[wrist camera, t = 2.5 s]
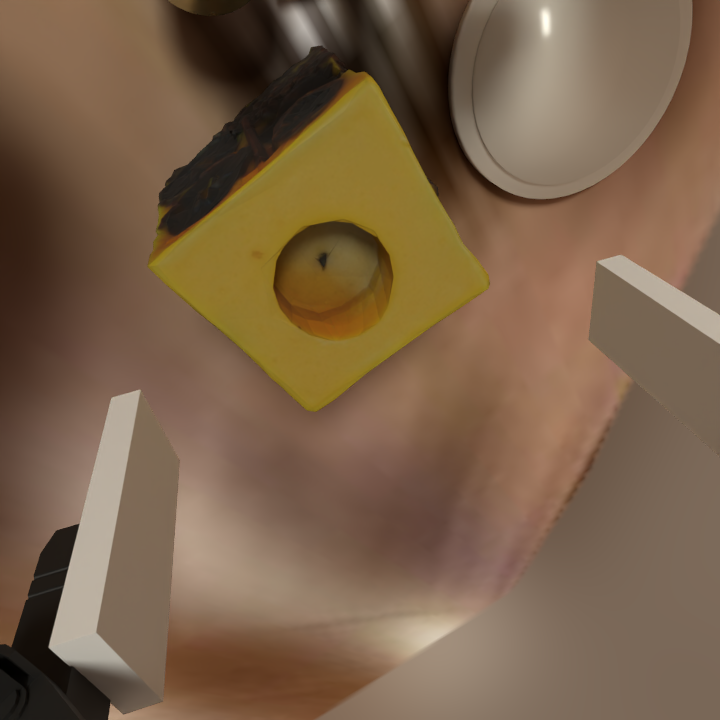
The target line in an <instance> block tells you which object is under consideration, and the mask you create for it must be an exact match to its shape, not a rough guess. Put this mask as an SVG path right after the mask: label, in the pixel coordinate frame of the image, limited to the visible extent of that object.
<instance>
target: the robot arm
mask: <svg viewBox="0 0 720 720" xmlns="http://www.w3.org/2000/svg"><path fill="white" fill-rule="evenodd" d="M589 341H590V342H591V343H593V344H594V345H595V346H596V347H597V348H598V349H599V350H600V351H602V352H603V353H604V354H605V355H606V356H607V357H608V358H609V359H611V360H612V361H613V362H614V363H615V364H616V365H617V366H618V367H620V368H621V369H622V370H623V371H624V372H625V373H626V374H627V375H628V376H630V377H631V378H632V379H633V380H634V381H635V382H636V383H637V384H639V385H640V386H641V387H642V388H643V389H644V390H646V392H648V393H649V394H650V395H651V396H652V397H653V398H655V400H657V401H658V402H659V403H660V404H661V405H662V406H663V407H664V408H666V409H667V410H668V411H669V412H670V413H671V414H672V415H673V416H674V417H676V418H677V419H678V420H679V421H680V422H681V423H682V424H683V425H685V426H686V427H687V428H688V429H689V430H690V431H691V432H692V433H694V434H695V435H696V436H697V437H698V438H699V439H700V440H701V441H703V442H704V443H705V444H706V445H707V446H708V447H709V448H710V449H712V450H713V451H714V452H715V453H716V454H717V455H718V456H719V457H720V315H719V314H717V313H715V312H714V311H712V310H711V309H709V308H707V307H706V306H704V305H702V304H701V303H699V302H697V301H696V300H694V299H692V298H691V297H689V296H688V295H686V294H684V293H683V292H681V291H680V290H678V289H676V288H675V287H673V286H671V285H670V284H668V283H667V282H665V281H663V280H662V279H660V278H658V277H657V276H655V275H653V274H652V273H650V272H649V271H647V270H645V269H644V268H642V267H640V266H639V265H637V264H636V263H634V262H632V261H631V260H629V259H627V258H626V257H624V256H622V255H618V256H615V257H611V258H607V259H604V260H600V261H597V262H596V272H595V282H594V291H593V301H592V311H591V321H590V330H589ZM179 464H180V460H179V458H178V456H177V454H176V453H175V451H174V449H173V447H172V445H171V444H170V442H169V440H168V438H167V436H166V435H165V433H164V431H163V429H162V427H161V426H160V424H159V422H158V420H157V418H156V417H155V415H154V413H153V411H152V409H151V408H150V406H149V404H148V402H147V400H146V399H145V397H144V395H143V393H142V391H141V390H137V391H134V392H130V393H127V394H123V395H119V396H116V397H112V398H111V402H110V406H109V410H108V414H107V418H106V422H105V426H104V430H103V434H102V438H101V442H100V446H99V450H98V454H97V457H96V461H95V465H94V469H93V473H92V477H91V481H90V485H89V489H88V493H87V497H86V501H85V505H84V509H83V513H82V517H81V521H80V524H77V525H73V526H70V527H67V528H63V529H60V530H57V531H56V532H55V533H54V535H53V536H52V538H51V539H50V541H49V542H48V544H47V545H46V546H45V548H44V549H43V551H42V552H41V554H40V557H39V560H38V564H37V567H36V570H35V573H34V581H32V583H31V586H30V589H29V593H28V600H26V602H25V606H24V609H23V612H22V615H21V619H20V622H19V625H18V628H17V631H16V635H15V638H14V641H13V644H12V648H11V647H9V646H8V645H6V644H4V645H0V720H108V716H109V709H110V703H111V704H112V705H114V706H115V707H116V708H117V709H118V710H119V711H120V712H121V713H123V714H127V713H130V712H133V711H136V710H139V709H142V708H145V707H148V706H151V705H154V704H157V703H160V702H163V696H164V681H165V667H166V652H167V638H168V623H169V609H170V594H171V580H172V565H173V551H174V536H175V522H176V507H177V493H178V478H179Z"/></svg>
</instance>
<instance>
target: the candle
mask: <svg viewBox="0 0 720 720" xmlns="http://www.w3.org/2000/svg"><path fill="white" fill-rule="evenodd" d="M165 186H166V187H165V188H164V189H163V190H162V191H161V192H160V193H159V201H160V203H159V204H158V211H159V219H158V225H157V228H156V233H157V234H158V236H157V237H156V239H155V240H154V242H153V251H152V253H151V254H150V257H149V262H148V266H147V267H148V268H149V269H150V270H152V271H153V272H154V273H155V274H156V275H157V276H158V277H159V278H160V279H161V280H162V281H163V282H164V283H165V284H166V285H167V286H168V287H169V288H171V289H172V290H173V291H174V292H175V293H176V294H177V295H179V296H180V297H181V298H182V299H183V300H184V301H185V302H186V303H188V304H189V305H190V306H191V307H192V308H193V309H194V310H195V311H197V312H198V313H199V314H200V315H202V316H203V317H204V318H205V319H207V320H208V321H209V322H210V323H212V324H213V325H214V326H215V327H217V328H218V329H219V330H220V331H221V332H223V333H224V334H225V335H226V336H227V337H228V338H229V339H231V340H232V341H233V342H234V343H235V344H236V345H237V346H239V347H240V348H241V349H242V350H243V351H244V352H245V353H246V354H247V355H248V356H249V357H250V358H252V359H253V360H254V361H255V362H256V363H257V364H258V365H259V366H260V367H261V368H262V369H263V370H264V371H265V372H266V373H267V374H268V375H269V377H270V378H272V379H273V380H274V381H275V382H276V383H277V384H279V385H280V386H281V387H282V388H283V389H284V390H285V391H286V392H287V393H288V394H290V395H291V396H292V397H293V398H294V399H295V400H296V401H297V402H298V403H299V404H300V405H302V406H303V407H304V408H305V409H306V410H307V411H314V412H317V411H318V410H320V409H321V408H323V407H324V406H326V405H327V404H329V403H330V402H332V401H333V400H335V399H336V398H337V397H338V396H340V395H341V394H342V393H343V392H345V391H346V390H347V389H348V388H349V387H351V386H352V385H353V384H354V383H356V382H357V381H358V380H359V379H360V378H362V377H363V376H364V375H365V374H366V373H368V372H369V371H371V370H372V369H373V368H375V367H376V366H378V365H379V364H380V363H382V362H383V361H384V360H386V359H387V358H389V357H390V356H391V355H393V354H394V353H396V352H397V351H398V350H400V349H401V348H403V347H404V346H405V345H407V344H408V343H409V342H411V341H412V340H414V339H415V338H416V337H418V336H419V335H421V334H422V333H423V332H425V331H426V330H428V329H429V328H430V327H432V326H433V325H435V324H436V323H438V322H439V321H441V320H443V319H444V318H446V317H447V316H449V315H450V314H452V313H453V312H455V311H456V310H458V309H459V308H461V307H462V306H464V305H465V304H467V303H468V302H470V301H471V300H472V299H474V298H475V297H477V296H478V295H480V294H481V293H483V292H484V291H485V290H487V289H488V288H489V285H490V282H489V275H488V274H487V272H486V271H485V269H484V268H483V267H482V265H481V264H480V263H479V261H478V260H477V259H476V258H475V257H474V255H473V254H472V253H471V252H470V251H469V250H468V249H467V248H466V247H465V245H464V244H463V243H462V241H461V239H460V236H459V234H458V232H457V230H456V228H455V226H454V224H453V222H452V221H451V219H450V217H449V216H448V214H447V213H446V211H445V209H444V208H443V206H442V204H441V203H440V201H439V199H438V187H437V186H435V185H434V184H433V183H432V182H431V181H430V180H429V179H428V178H427V177H426V176H425V174H424V172H423V170H422V168H421V166H420V164H419V162H418V160H417V158H416V157H415V155H414V152H413V150H412V148H411V146H410V144H409V141H408V139H407V137H406V135H405V133H404V131H403V129H402V128H401V126H400V124H399V122H398V121H397V119H396V117H395V115H394V114H393V112H392V110H391V108H390V106H389V104H388V102H387V101H386V99H385V97H384V95H383V93H382V91H381V89H380V87H379V86H378V85H377V83H376V82H375V81H374V79H373V78H372V77H371V76H370V75H368V74H367V73H366V72H359V73H355V72H353V71H351V70H347V69H346V68H345V63H343V62H340V60H339V58H338V57H337V56H336V55H335V54H334V53H331V52H328V50H327V49H325V48H323V46H316V47H311V50H310V52H309V55H308V56H307V57H306V58H304V59H303V60H302V61H300V62H298V63H297V64H295V65H293V66H292V67H291V68H289V69H288V70H287V71H286V72H285V73H284V74H283V76H282V77H280V78H278V79H276V80H274V81H273V82H272V83H271V84H270V85H269V86H268V87H267V88H266V90H265V91H264V92H263V93H262V94H260V95H259V96H258V97H257V98H256V99H254V100H253V101H252V102H250V103H249V104H248V105H247V106H245V107H244V108H243V109H242V110H241V111H240V112H239V114H238V115H237V117H236V118H235V119H234V121H233V122H228V123H226V124H225V125H224V127H223V129H222V131H220V132H219V133H217V134H216V135H214V136H213V140H212V141H211V142H210V143H209V144H208V145H207V146H206V147H205V148H204V149H202V150H201V151H200V152H199V153H198V154H197V156H196V157H195V158H194V159H193V160H192V161H191V162H190V163H189V164H188V165H186V166H183V167H181V168H178V169H176V170H174V172H173V174H172V176H171V177H170V178H169V179H168V180H167V181H166V183H165Z"/></svg>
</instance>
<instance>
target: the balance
mask: <svg viewBox="0 0 720 720" xmlns="http://www.w3.org/2000/svg"><path fill="white" fill-rule="evenodd" d="M167 1H169V2H170V3H172V4H173V5H175V6H177V7H179V8H181V9H183V10H185V11H187V12H191V13H194V14H198V15H204V16H218V15H224V14H227V13H231V12H233V11H235V10H237V9H239V8H241V7H242V6H244V5H245V4H247V3H248V2H249V1H250V0H167Z"/></svg>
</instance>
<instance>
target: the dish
mask: <svg viewBox="0 0 720 720" xmlns="http://www.w3.org/2000/svg"><path fill="white" fill-rule="evenodd" d="M692 7H693V6H692V0H469V1H468V3H467V6H466V8H465V10H464V13H463V15H462V17H461V20H460V23H459V26H458V29H457V32H456V35H455V38H454V42H453V47H452V52H451V57H450V63H449V73H448V102H449V110H450V117H451V121H452V125H453V129H454V132H455V135H456V137H457V140H458V142H459V145H460V147H461V149H462V150H463V152H464V154H465V156H466V157H467V159H468V160H469V162H470V163H471V164H472V165H473V167H474V168H475V169H476V170H477V171H478V172H479V173H480V174H481V175H482V176H483V177H485V178H486V179H487V180H489V181H490V182H492V183H493V184H495V185H496V186H498V187H500V188H501V189H503V190H505V191H507V192H509V193H512V194H514V195H517V196H521V197H525V198H532V199H552V198H558V197H563V196H568V195H571V194H574V193H577V192H580V191H582V190H584V189H586V188H588V187H590V186H593V185H594V184H596V183H598V182H599V181H601V180H603V179H604V178H606V177H607V176H609V175H610V174H611V173H613V172H614V171H615V170H617V169H618V168H619V167H620V166H621V165H623V164H624V163H625V162H626V161H627V160H628V159H629V158H630V157H631V156H632V155H633V154H634V153H635V152H636V151H637V150H638V149H639V148H640V146H641V145H642V144H643V143H644V142H645V141H646V139H647V138H648V137H649V135H650V134H651V133H652V131H653V130H654V129H655V127H656V125H657V124H658V122H659V121H660V119H661V118H662V116H663V114H664V113H665V111H666V109H667V107H668V105H669V103H670V101H671V99H672V97H673V95H674V93H675V90H676V88H677V85H678V83H679V81H680V78H681V75H682V72H683V68H684V65H685V62H686V58H687V53H688V49H689V45H690V37H691V29H692Z"/></svg>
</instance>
